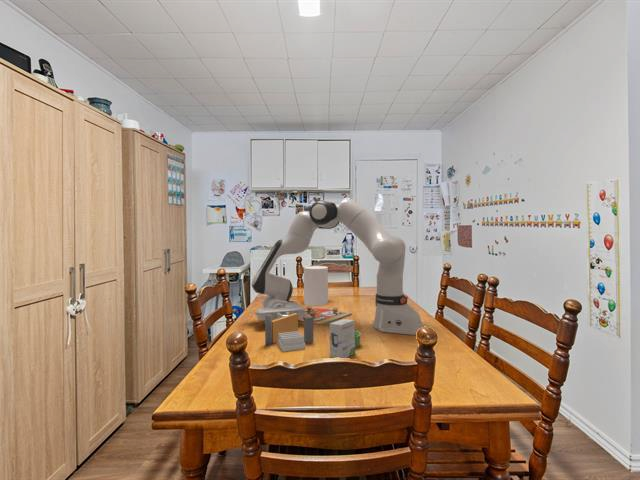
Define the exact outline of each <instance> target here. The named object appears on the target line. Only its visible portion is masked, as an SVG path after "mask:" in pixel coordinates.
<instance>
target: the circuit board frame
mask: <svg viewBox="0 0 640 480" xmlns="http://www.w3.org/2000/svg"><path fill="white" fill-rule="evenodd" d="M303 319H304V322H303V334H302V333H301V332H299V330H298V331H295V332H286V333H278V342H277V346H278V347H279V349H280V350H281V352H283V353H284V352H294V351H300V350H306V344H311V343H314V324H313V317H312V316H303ZM264 335H265V338H264V339H265V340H264V343H265V344H264V345H265V346H266V347H267V346H269V347H270V346H272V345H273V343H272V315H270V314H267V315H265V320H264Z"/></svg>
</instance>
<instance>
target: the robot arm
mask: <svg viewBox="0 0 640 480" xmlns="http://www.w3.org/2000/svg"><path fill="white" fill-rule="evenodd" d="M291 222H292V223H291V225H290V226H289V230H288V232H287V233H286V235H285V236H284V237H283V238H282V239H279V240H277V241H276V242H275V243H274V245H273V247H272V248H271V250H270V251H269V253H268V254H267V257H266V258H265V259H264V261H263V263H262V264H261V266H260V268H259V269H258V271H257V272H256V273H255V275H254V276H253V279H252V282H251V287H252V288H253V291H254V293H256V294H262V295H266V296H265V297H264V298H263V299H262V308H261V307H260V308H258V309H257V310H255V311H254V315H257V316H256V317H257V320H258V321H262V322H263V321H265V315H267V314H270V315H272V320H275V319H278V318H281V317H285V316H288V315H291V314H294V313H296V314H298V317H303V316H305V308H306V307H304V306H303V305H301V304H298V302H297V301H296V300H295V301H294V300H293V301H291V297H292V295H293V290H294V289H293V288H294V287H293V284H292V281H291V280H290V279H288V278H285V277H282V276H279V275H275V274H272V273H270V272H271V270H272V268H273V267H274V265H275V264H276V261H277V260H278V259H279V258H280V257H281V256H284V255H296V254H301V253H304V252H305V251H306V250H307V249H308V247H309V245H310V243H311V240H312V238H313V235H314V233H315V231H316V230H317V229H321V230H322V229H323V230H326V229H327V230H330V229H331V230H332V229H335V228H336V227H337V226H338V225H339V224H340V223H341V224H343V225H344V226H345V228H347V229H348V230H350V232H351V233H352V234H354V236H356V237H357V239H359V240H360V241H361V242H362V243H363V244H364V246H365V247H366V248H367V249H368V251H369V252H370V253H371V254H372V256H373V258H374V259H375V260H376V261H377V262H379V263H378V269H377V274H376V293H375V315H374V319H373V322H372V323H373V324H372V327H373V328H375V329H377V330H378V331H379V332H380V333H388V334H389V333H390V334H391V333H392V334H399V335H401V334H402V335H411V336H413V335H414V336H417V335H416V332H417V330H418V329H419V328H421V327H424V326H426V327H427V325H426V324H425V323H422V319H421V315H420V313H419V312H418V311H416V310H415V309H414V308H413V307H411V306H410V304H408V299H409V296H408V295H407V296H406V295H404V291H403V290H404V287H403V285H404V269H405V262H406V261H405V260H406V250H407V249H406V243H405V241H404V240H403V239H402V238H401V237H399V236H396V235H390V233H389V232H387V230H386V229H385V228H384V227H383V226H382V225H381V224H380V222H379V221H378V220H377V219H376V218H375V217H374V216H373V215H371V214H370V212H368V211H367V210H366V209H365V208H363V206H361V205H360V204H358V203H357V202H355V201H353V200H352V199H349V198H344V199H343V200H341V201H340V202H339V203H337V204H335V203H334V202H329V201H326V200H318V201H316V202H314V203H312V205H310V208H309V211H299V212H298V213H297V214H296V215H295V217H294V218H293V221H291Z"/></svg>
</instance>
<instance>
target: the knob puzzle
mask: <svg viewBox="0 0 640 480" xmlns="http://www.w3.org/2000/svg"><path fill="white" fill-rule="evenodd" d="M304 308H305V316H312V317H313V325H318V326H325V325H329V324H330V323H332V322H336V321H339V320H342V319H346V318H347V317H350V316H352V315H353V313H352V312H348V311H341V310H339V308H338V307H332V308H331V307H312V305H306V306H305V307H304ZM298 322H302V323H304V319H303V317H298Z"/></svg>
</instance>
